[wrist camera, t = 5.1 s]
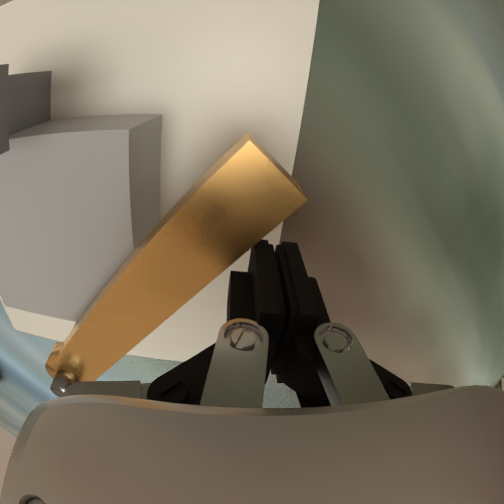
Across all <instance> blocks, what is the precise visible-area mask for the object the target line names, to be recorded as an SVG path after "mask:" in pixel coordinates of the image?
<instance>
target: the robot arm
mask: <svg viewBox="0 0 504 504" xmlns="http://www.w3.org/2000/svg"><path fill="white" fill-rule="evenodd" d="M270 369H271V373H272V374H276V376H277V383H284V384H285V385H287V386H288V387H289V388H291V389H290V396H291V399H292V402H293V406H294V408H262V404H263V395H264V385H265V384H266V382H267V378H268V375H269V372H270ZM0 504H504V391H503V390H501V389H498V388H495V387H490V386H479V385H473V386H462V387H456V388H455V387H453V386H450V385H439V384H425V383H412V382H410V383H409V385H408V384H407V383H406V382H405V381H403V380H402V379H401V378H399V377H397V376H396V375H394V374H392V373H391V372H389V371H388V370H386V369H384V368H383V367H381V366H380V365H378V364H376V363H375V362H373V361H372V360H370V359H368V357H367V355H366V353H365V351H364V350H363V348H362V346H361V344H360V342H359V341H358V339H357V337H356V336H355V334H354V333H353V332H352V331H351V330H350V329H349V328H347V327H345V326H343V325H341V324H337V323H331V322H330V319H329V316H328V313H327V310H326V307H325V304H324V301H323V298H322V295H321V292H320V289H319V286H318V284H317V281H316V279H315V278H314V277H308V275H307V272H306V269H305V266H304V263H303V260H302V256H301V253H300V250H299V247H298V244H297V243H292V242H283V241H282V243H281V245H276V248H275V251H274V246H273V244H269V243H268V240H263V239H261V240H260V241H259V242H258V243H257V244H255V245H254V246H253V247H252V248H251V253H250V259H249V266H248V272H241V271H230V278H229V287H228V298H227V319H226V323H225V324H223V325H222V326H221V328H220V330H219V333H218V337H217V340H216V342H215V343H214V344H212V345H211V346H209V347H208V348H206V349H204V350H203V351H201V352H200V353H198V354H196V355H195V356H193V357H191V358H190V359H188V360H187V361H185V362H183V363H182V364H180V365H178V366H177V367H175V368H173V369H172V370H170V371H168V372H167V373H165V374H163V375H161V376H160V377H158V378H157V379H155V380H154V381H153V382H152V383H144V384H141V382H140V381H80V382H75V383H73V384H71V385H69V386H68V388H67V389H66V390H65V391H64V394H63V397H59V398H55V399H52V400H48V401H46V402H44V403H41V404H40V405H38V406H37V407H36V408H35V409H34V410H33V411H32V412H31V413H30V414H29V416H28V417H27V419H26V420H25V422H24V424H23V426H22V428H21V430H20V432H19V434H18V437H17V439H16V442H15V445H14V447H13V450H12V453H11V456H10V459H9V463H8V467H7V470H6V474H5V478H4V483H3V488H2V494H1V500H0Z"/></svg>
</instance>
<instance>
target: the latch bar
mask: <svg viewBox="0 0 504 504" xmlns="http://www.w3.org/2000/svg"><path fill="white" fill-rule="evenodd" d="M306 201H308V200H307V198H306V196H305V195H304V193H303V191H302V189H301V187H300V186H299V184H298V183H297V182H296V181H295V180H294V179H293V178H292V176H291V175H290V174H289V173H288V172H287V171H286V170H285V169H284V168H283V167H282V166H281V165H280V164H279V163H278V162H277V161H276V160H275V159H274V158H273V157H272V156H271V155H270V154H269V153H268V152H267V151H266V150H265V149H264V148H263V147H262V146H261V145H260V144H259V143H258V142H257V141H256V140H255V139H254V138H253V137H252V136H251V135H250V134H249V133H248V132H247V133H246V134H245V135H244V136H243V137H242V138H241V139H240V140H239V141H238V142H237V143H236V144H234V145H233V146H232V147H231V148H230V149H229V150H228V151H227V152H226V153H225V154H224V155H223V156H222V157H221V158H220V159H219V160H218V161H217V162H216V163H215V164H214V165H213V166H212V167H211V168H210V169H209V170H208V171H207V172H206V173H205V174H204V175H203V176H202V177H201V178H200V179H199V180H198V181H197V182H196V183H195V184H194V185H193V186H192V187H191V188H190V189H189V190H188V191H187V192H186V193H185V194H184V196H183V197H182V198H181V199H180V200H179V201H178V202H177V203H176V204H175V205H174V206H173V207H172V208H171V209H170V211H169V212H168V213H167V214H166V215H165V216H164V217H163V218H162V219H161V220H160V222H159V223H158V224H157V225H156V226H155V227H154V228H153V229H152V231H151V232H150V233H149V234H148V235H147V236H146V237H145V238H144V240H143V241H142V242H141V243H140V244H139V245H138V247H137V248H136V249H135V250H134V251H133V252H132V254H131V255H130V256H129V257H128V258H127V260H126V261H125V262H124V263H123V264H122V266H121V267H120V268H119V269H118V271H117V272H116V273H115V274H114V275H113V277H112V278H111V279H110V280H109V282H108V283H107V284H106V286H105V287H104V288H103V289H102V291H101V292H100V293H99V294H98V296H97V297H96V298H95V300H94V301H93V302H92V304H91V305H90V306H89V308H88V309H87V310H86V312H85V313H84V314H83V316H82V317H81V318H80V320H79V321H78V322H77V324H76V325H75V327H74V328H73V329H72V331H71V332H70V333H69V335H68V336H67V338H66V339H65V341H64V342H58V343H56V344H55V345H54V348H53V350H52V352H51V354H50V356H49V358H48V360H47V362H46V365H45V367H46V370H47V372H48V373H49V375H50V376H51V377H52V378H53V379H54V380H53V382H52V385H51V387H50V388H51V390H52V392H53V393H54V394H55V395H57V396H58V397H63V394H64V391H65V390H66V389H67V388H68V386H69V385H71V384H73V383H75V382H80V381H95V380H96V379H97V378H99V377H100V376H101V375H102V374H103V373H104V372H106V371H107V370H108V369H109V368H110V367H111V366H113V365H114V364H115V363H116V362H117V361H118V360H120V359H121V358H122V357H123V356H124V355H125V354H127V353H128V352H129V351H130V350H131V349H133V348H134V347H135V346H136V345H137V344H138V343H140V342H141V341H142V340H143V339H144V338H145V337H147V336H148V335H149V334H150V333H151V332H153V331H154V330H155V329H156V328H157V327H158V326H160V325H161V324H162V323H163V322H164V321H165V320H167V319H168V318H169V317H170V316H171V315H173V314H174V313H175V312H176V311H177V310H178V309H180V308H181V307H182V306H183V305H184V304H186V303H187V302H188V301H189V300H190V299H191V298H193V297H194V296H195V295H196V294H197V293H198V292H200V291H201V290H202V289H203V288H204V287H206V286H207V285H208V284H209V283H210V282H211V281H213V280H214V279H215V278H216V277H217V276H219V275H220V274H221V273H222V272H223V271H225V270H226V269H227V268H228V267H229V266H230V265H232V264H233V263H234V262H235V261H236V260H238V259H239V258H240V257H241V256H242V255H243V254H245V253H246V252H247V251H248V250H249V249H251V248H252V247H253V246H254V245H255V244H257V243H258V242H259V241H260V240H261V239H262V238H264V237H265V236H266V235H267V234H268V233H270V232H271V231H272V230H273V229H274V228H276V227H277V226H278V225H279V224H280V223H281V222H283V221H284V220H285V219H286V218H287V217H289V216H290V215H291V214H292V213H293V212H295V211H296V210H297V209H298V208H299V207H301V206H302V205H303V204H304V203H305V202H306Z"/></svg>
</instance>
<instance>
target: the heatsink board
mask: <svg viewBox="0 0 504 504" xmlns="http://www.w3.org/2000/svg"><path fill="white" fill-rule="evenodd" d="M318 7H319V0H13V1H11V2H9V3H6V4H4V5H2V6H0V299H1V301H2V303H3V306H4V308H5V310H6V312H7V314H8V316H9V318H10V320H11V322H12V324H13V326H14V328H15V329H16V330H19V331H22V332H26V333H30V334H33V335H37V336H41V337H45V338H49V339H53V340H57V341H61V342H64V341H65V339H66V338H67V336H68V335H69V333H70V332H71V331H72V329H73V328H74V327H75V325H76V324H77V322H78V321H79V320H80V318H81V317H82V316H83V314H84V313H85V312H86V310H87V309H88V308H89V306H90V305H91V304H92V302H93V301H94V300H95V298H96V297H97V296H98V294H99V293H100V292H101V291H102V289H103V288H104V287H105V286H106V284H107V283H108V282H109V280H110V279H111V278H112V277H113V275H114V274H115V273H116V272H117V271H118V269H119V268H120V267H121V266H122V264H123V263H124V262H125V261H126V260H127V258H128V257H129V256H130V255H131V254H132V252H133V251H134V250H135V249H136V248H137V247H138V245H139V244H140V243H141V242H142V241H143V240H144V238H145V237H146V236H147V235H148V234H149V233H150V232H151V231H152V229H153V228H154V227H155V226H156V225H157V224H158V223H159V222H160V220H161V219H162V218H163V217H164V216H165V215H166V214H167V213H168V212H169V211H170V209H171V208H172V207H173V206H174V205H175V204H176V203H177V202H178V201H179V200H180V199H181V198H182V197H183V196H184V194H185V193H186V192H187V191H188V190H189V189H190V188H191V187H192V186H193V185H194V184H195V183H196V182H197V181H198V180H199V179H200V178H201V177H202V176H203V175H204V174H205V173H206V172H207V171H208V170H209V169H210V168H211V167H212V166H213V165H214V164H215V163H216V162H217V161H218V160H219V159H220V158H221V157H222V156H223V155H224V154H225V153H226V152H227V151H228V150H229V149H230V148H231V147H232V146H233V145H234V144H236V143H237V142H238V141H239V140H240V139H241V138H242V137H243V136H244V135H245V134H246V133H247V132H248V133H249V134H250V135H251V136H252V137H253V138H254V139H255V140H256V141H257V142H258V143H259V144H260V145H261V146H262V147H263V148H264V149H265V150H266V151H267V152H268V153H269V154H270V155H271V156H272V157H273V158H274V159H275V160H276V161H277V162H278V163H279V164H280V165H281V166H282V167H283V168H284V169H285V170H286V171H287V172H288V173H289V174H290V175H291V176H292V172H293V166H294V161H295V155H296V149H297V143H298V138H299V132H300V126H301V120H302V114H303V108H304V101H305V95H306V89H307V83H308V76H309V70H310V63H311V56H312V50H313V43H314V36H315V29H316V22H317V14H318ZM282 226H283V222H281V223H280V224H279V225H278V226H277V227H276V228H274V229H273V230H272V231H271V232H270V233H268V234H267V235H266V236H265V237H264V238H262V239H263V240H268V243H269V244H273V246H274V251H275V248H276V245H279V242H280V236H281V231H282ZM250 253H251V249H249V250H248V251H247V252H246V253H245V254H243V255H242V256H241V257H240V258H239V259H238V260H236V261H235V262H234V263H233V264H232V265H230V266H229V267H228V268H227V269H226V270H225V271H223V272H222V273H221V274H220V275H219V276H217V277H216V278H215V279H214V280H213V281H211V282H210V283H209V284H208V285H207V286H206V287H204V288H203V289H202V290H201V291H200V292H198V293H197V294H196V295H195V296H194V297H193V298H191V299H190V300H189V301H188V302H187V303H186V304H184V305H183V306H182V307H181V308H180V309H178V310H177V311H176V312H175V313H174V314H173V315H171V316H170V317H169V318H168V319H167V320H165V321H164V322H163V323H162V324H161V325H160V326H158V327H157V328H156V329H155V330H154V331H153V332H151V333H150V334H149V335H148V336H147V337H145V338H144V339H143V340H142V341H141V342H140V343H138V344H137V345H136V346H135V347H134V348H133V349H131V350H130V351H129V352H128V353H127V354H128V355H135V356H142V357H149V358H157V359H165V360H174V361H183V362H185V361H187V360H188V359H190V358H191V357H193V356H195V355H196V354H198V353H200V352H201V351H203V350H204V349H206V348H208V347H209V346H211V345H212V344H214V343H215V342H216V340H217V337H218V333H219V330H220V328H221V326H222V325H223V324H225V323H226V319H227V298H228V287H229V278H230V271H241V272H248V266H249V259H250Z"/></svg>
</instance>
